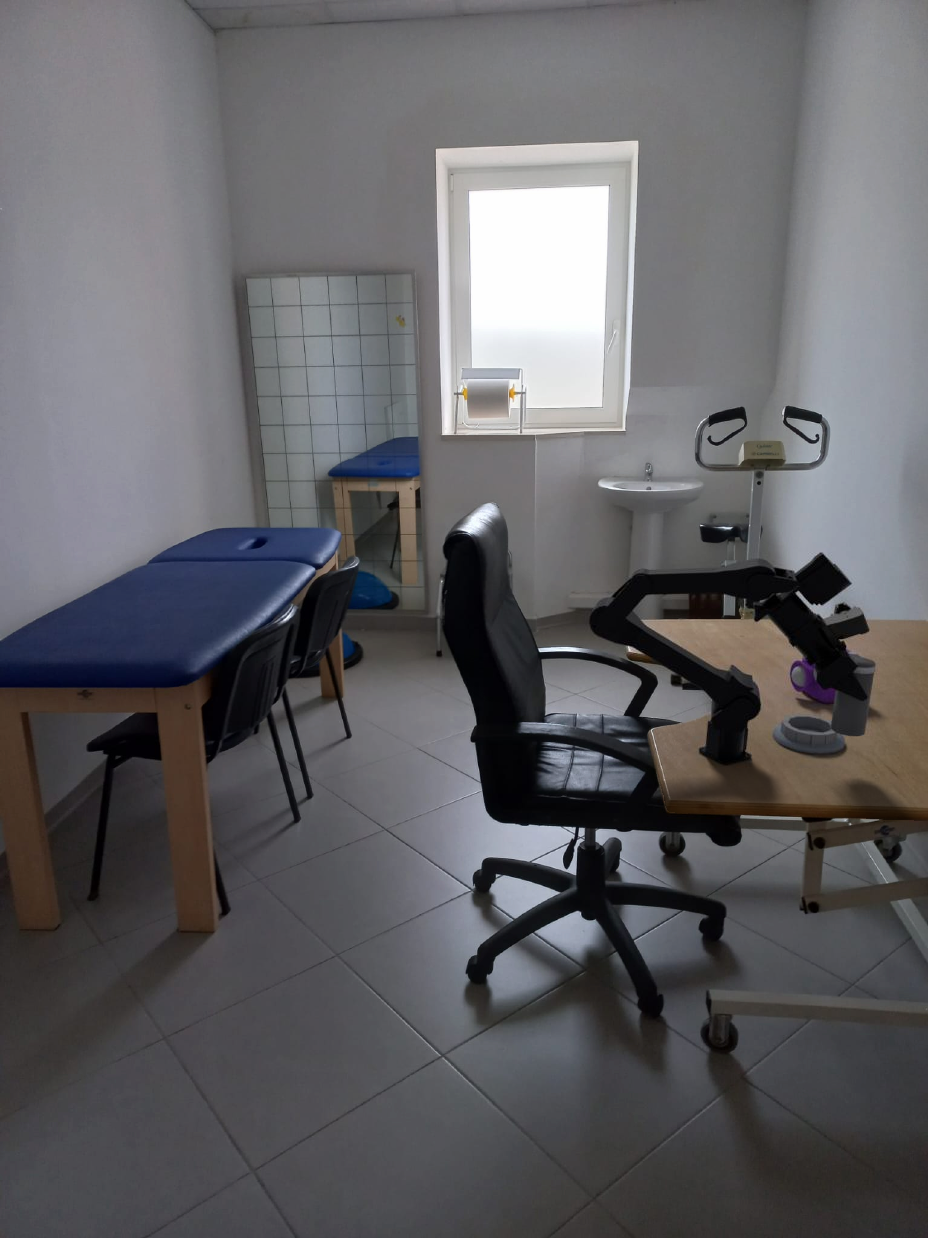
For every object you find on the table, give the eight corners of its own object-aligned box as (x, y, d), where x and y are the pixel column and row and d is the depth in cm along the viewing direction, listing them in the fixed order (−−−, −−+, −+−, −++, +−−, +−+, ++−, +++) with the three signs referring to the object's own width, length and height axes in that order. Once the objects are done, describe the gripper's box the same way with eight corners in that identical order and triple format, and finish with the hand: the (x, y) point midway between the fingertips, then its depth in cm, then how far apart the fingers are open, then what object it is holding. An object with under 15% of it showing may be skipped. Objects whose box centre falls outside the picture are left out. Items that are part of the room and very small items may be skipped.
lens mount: (811, 759, 146) (813, 743, 145) (758, 733, 156) (760, 718, 155) (859, 746, 151) (861, 730, 150) (805, 722, 161) (806, 707, 160)
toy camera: (777, 692, 177) (782, 646, 174) (829, 684, 181) (835, 639, 179) (815, 710, 167) (821, 662, 164) (868, 701, 172) (875, 654, 169)
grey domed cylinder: (853, 739, 137) (864, 669, 134) (823, 728, 141) (832, 659, 138) (872, 731, 140) (882, 662, 137) (841, 721, 144) (851, 653, 141)
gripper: (850, 606, 126) (920, 683, 127) (831, 578, 144) (892, 645, 144) (788, 652, 130) (856, 726, 131) (777, 619, 148) (837, 685, 148)
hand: (862, 693), depth 138 cm, fingers closed on grey domed cylinder, 5 cm apart
